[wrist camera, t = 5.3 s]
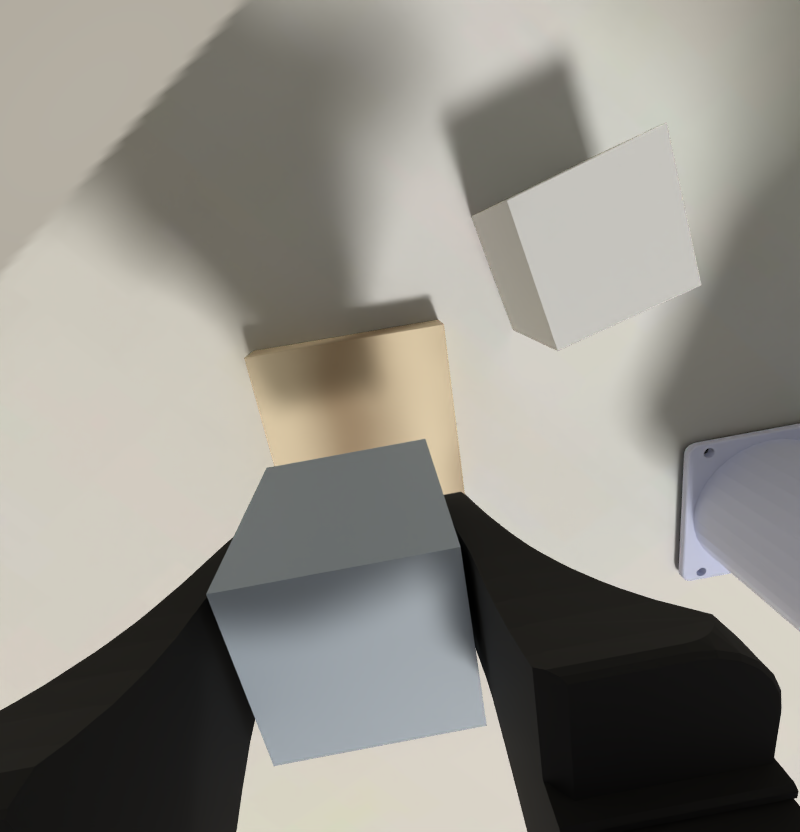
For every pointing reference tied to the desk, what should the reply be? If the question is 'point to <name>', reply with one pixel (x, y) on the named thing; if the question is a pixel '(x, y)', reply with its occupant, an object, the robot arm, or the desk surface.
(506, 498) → the desk surface
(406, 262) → the desk surface
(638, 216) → the grey cube
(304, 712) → the slate block
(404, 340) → the maple block
